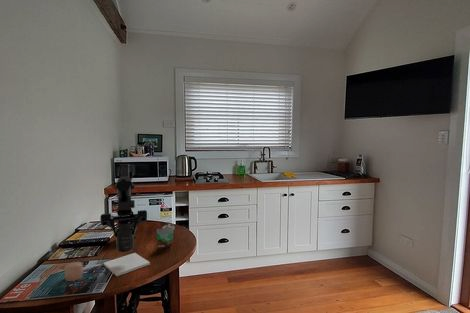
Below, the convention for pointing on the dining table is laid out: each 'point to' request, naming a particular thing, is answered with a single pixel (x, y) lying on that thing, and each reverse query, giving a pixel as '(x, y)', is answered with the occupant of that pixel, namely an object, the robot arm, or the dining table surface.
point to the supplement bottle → (124, 237)
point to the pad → (126, 264)
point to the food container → (165, 235)
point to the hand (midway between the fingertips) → (124, 235)
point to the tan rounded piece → (73, 271)
